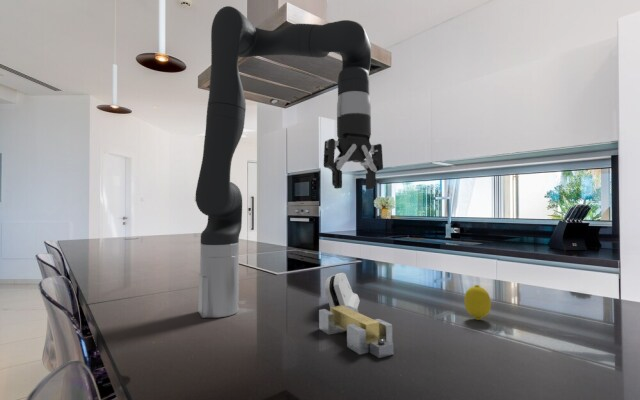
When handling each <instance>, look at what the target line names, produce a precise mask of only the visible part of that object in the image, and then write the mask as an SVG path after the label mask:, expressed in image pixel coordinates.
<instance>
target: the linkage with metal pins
mask: <svg viewBox="0 0 640 400" xmlns="http://www.w3.org/2000/svg"><path fill="white" fill-rule="evenodd" d="M345 307H347V308H349V309H351V310H354V311H356V312H358V313H359V309H358V308H357V309H356V308H353V307H351V306H349V305H347V306H345ZM374 320H376V321H378V322H379V339H375V340H371V341H366V330H365V329H363V328H361V327H359V326H357V325H355V324H349V325H347V330H345V329H343V328H341V327H340V326H338V325H336V324H334V313H332V312H330V310H328V309H326V308H322V309H319V310H318V321H319V323H318V326H319V327H318V329H319V330H320V331H322V332H323V333H325V334H327V335H333V334H339V333H344V332H346V347H347V348H349V349H350V350H352V352H353V351H354V352H355V353H357V355H364V354H368V353H369V354H371V355H373V356H374V357H377V358H378V359H382V358H386V357H389V356H393V355H394V343H393V324H392V323H389V322H387V321H386V320H383V319H381V318H376V319H374Z"/></svg>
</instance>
